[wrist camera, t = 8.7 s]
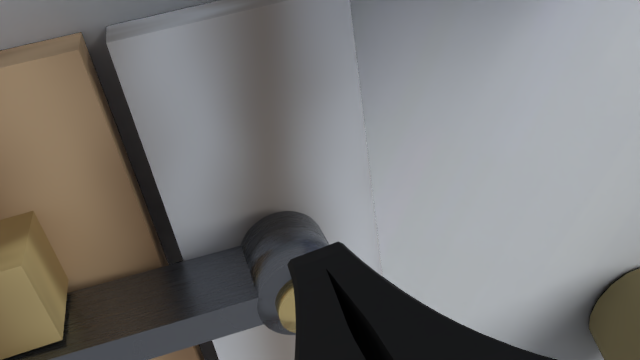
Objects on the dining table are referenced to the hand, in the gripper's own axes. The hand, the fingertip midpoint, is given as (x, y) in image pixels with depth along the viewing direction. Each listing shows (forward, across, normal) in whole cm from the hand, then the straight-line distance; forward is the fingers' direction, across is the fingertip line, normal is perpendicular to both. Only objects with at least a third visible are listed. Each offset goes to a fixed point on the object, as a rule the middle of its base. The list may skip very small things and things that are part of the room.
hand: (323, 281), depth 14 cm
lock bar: (+7, +5, +3) cm, 9 cm away
